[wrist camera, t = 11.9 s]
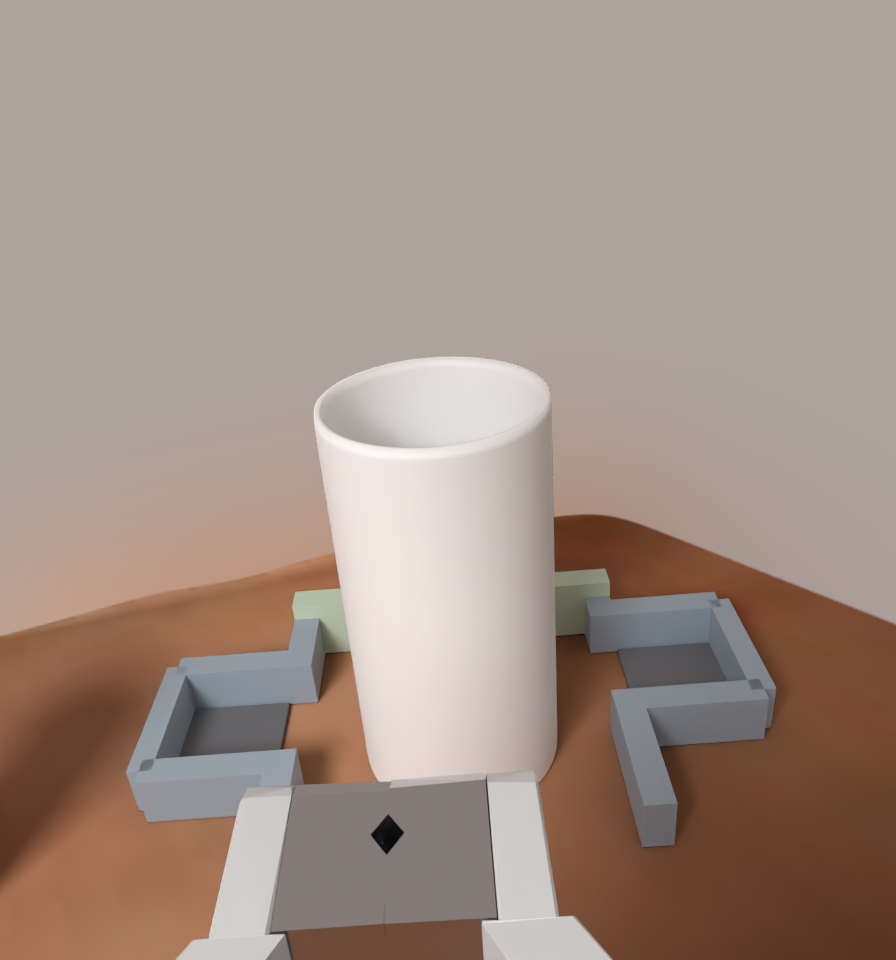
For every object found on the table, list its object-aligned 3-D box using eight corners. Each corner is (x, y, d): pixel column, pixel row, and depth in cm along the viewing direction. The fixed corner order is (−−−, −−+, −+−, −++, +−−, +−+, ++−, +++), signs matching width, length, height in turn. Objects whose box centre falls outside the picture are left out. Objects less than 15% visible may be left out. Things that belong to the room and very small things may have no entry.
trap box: (112, 885, 32) (90, 830, 30) (198, 647, 44) (185, 600, 42) (823, 834, 31) (835, 776, 30) (712, 609, 43) (716, 560, 42)
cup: (374, 678, 41) (328, 363, 33) (546, 669, 40) (539, 348, 33) (358, 821, 33) (294, 458, 26) (568, 810, 33) (565, 441, 26)
